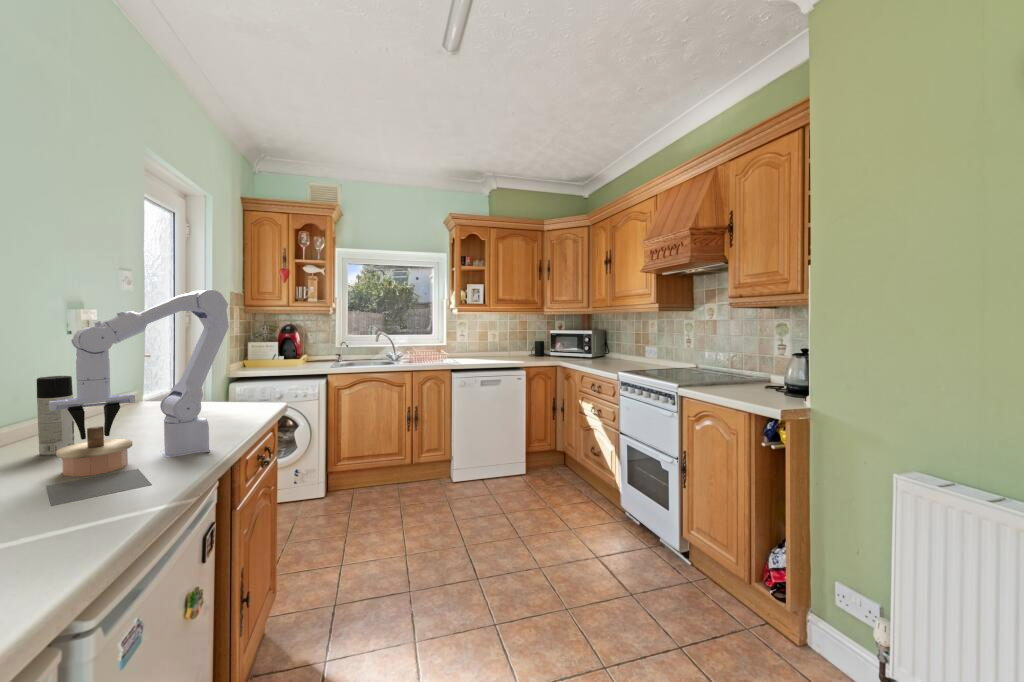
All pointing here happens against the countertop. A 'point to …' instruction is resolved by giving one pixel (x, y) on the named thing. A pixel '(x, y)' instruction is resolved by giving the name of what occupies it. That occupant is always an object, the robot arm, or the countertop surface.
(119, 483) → the mat
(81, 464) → the bowl
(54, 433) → the spray can
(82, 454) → the lid
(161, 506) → the countertop surface
